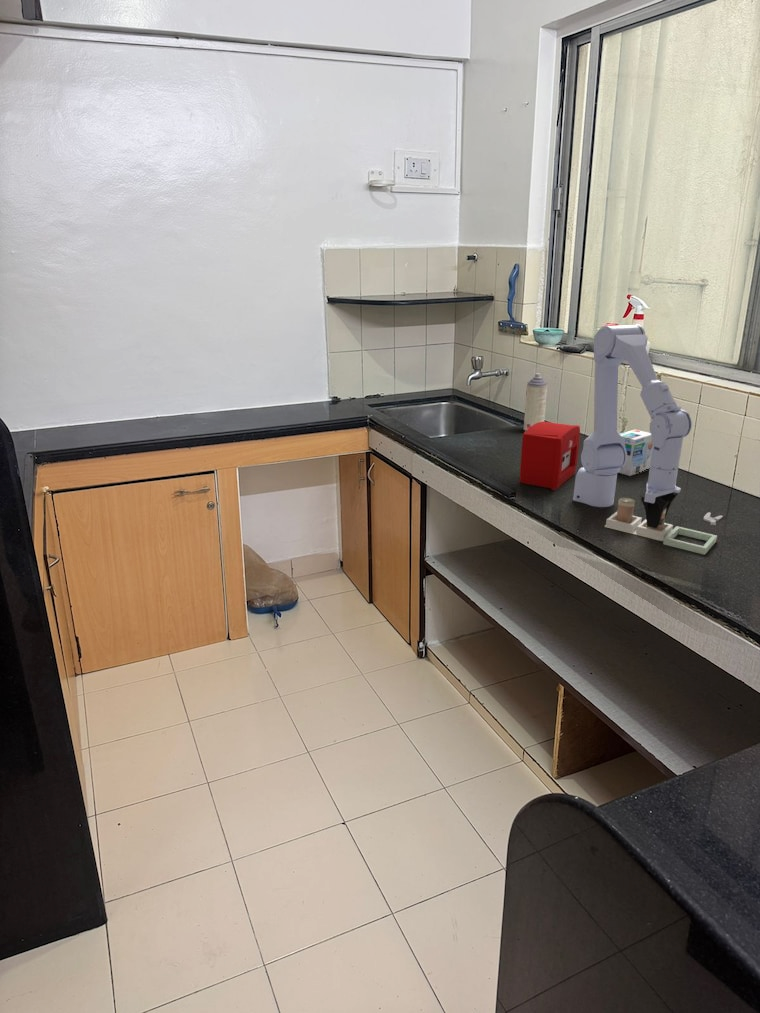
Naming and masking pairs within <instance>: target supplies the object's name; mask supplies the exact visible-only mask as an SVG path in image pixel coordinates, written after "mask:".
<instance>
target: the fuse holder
mask: <svg viewBox="0 0 760 1013" xmlns="http://www.w3.org/2000/svg"><path fill="white" fill-rule="evenodd" d="M616 518H617V511H615V512H614V513H612V515H610V516H609V517H607V518H606V522H605V525H604V528H607V529H608V528H609V529H612V530H616V531H620V532H624V533H628V534H632V535H636V536H640V537H643V538H648V539H652V540H656V541H661V542H663V541H664V538H665V537H666V536H667V535H668V534H669V533H670V532H671V531H672V530H673V529H674V528H673V527H674V524H671V523H667V522H664V525H663V531H659V530H654V529H650V528H646V527H647V520H646V518H645V519H644V520H643V517H640V516H637V515H633V517H632V523H631V524H629V523H625V522H621V521H617V520H616ZM642 520H643V521H642Z"/></svg>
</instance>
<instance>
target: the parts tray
mask: <svg viewBox="0 0 760 1013" xmlns="http://www.w3.org/2000/svg"><path fill="white" fill-rule="evenodd" d="M678 535H681V536H683V537H684V536H685V537H689V538H694V539H698V540H701V541H702V540H703V541H706V542H705V543H704V544H703V545H700V544H696V543H693V542H692V543H691V542H688V541H683V540H679V539H676V537H677V536H678ZM717 538H718V535H715V534H712V533H708V532H703V531H698V530H695V529H691V528H686V527H682V526H675V527H674V528H672V531H671V532H670V533H669V534H668V535H667V536H666V537H665V538H664V540H663V541H662V542H663V543H662V545H665V546H668V547H673V548H675V549H676V548H677V549H681V550H684V551H689V552H692V553H697V554H700V555H703V556H704V555H706V554H707V553H708V552H709V550H710V549H711V548H712V547H713V546H714V545H715V543H717Z"/></svg>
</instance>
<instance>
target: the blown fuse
mask: <svg viewBox="0 0 760 1013" xmlns="http://www.w3.org/2000/svg"><path fill="white" fill-rule="evenodd" d="M665 513H666V507H665V509H664V511H663V513H662V516H661V520H660V523H659V525H658V527H657V528H653V527H649V526H647V527H646V528H650V529H654V530H659V531H663V525H664V523H665V519H666V517H665Z"/></svg>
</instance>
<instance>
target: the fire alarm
mask: <svg viewBox="0 0 760 1013" xmlns="http://www.w3.org/2000/svg"><path fill="white" fill-rule="evenodd" d="M523 432H524V431H523ZM523 432H522V433H523ZM580 437H581V426H580V425H577V424H574V425H572V424H566V423H565V424H563V423H559V422H557V423H556V422H551V421H549V422H548V421H544V422H538V423H536V424H534V425H532V426H531V427H530V428H528V429H527V430H526V431H525V432H524V433H523V434H522V440H521V442H522V443H521V453H520V473H519V483H521V484H525V485H532V486H537V487H542V488H549V489H551V490H553V491H556V490H558V489H559V488H560V487H561V486H562V485H563V484H564V483H566V481H568V480H569V479H570V478H571V477H573V476H574V475H575V473H576V469H577V465H578V459H579V458H578V457H579V450H580V449H579V448H580Z"/></svg>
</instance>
